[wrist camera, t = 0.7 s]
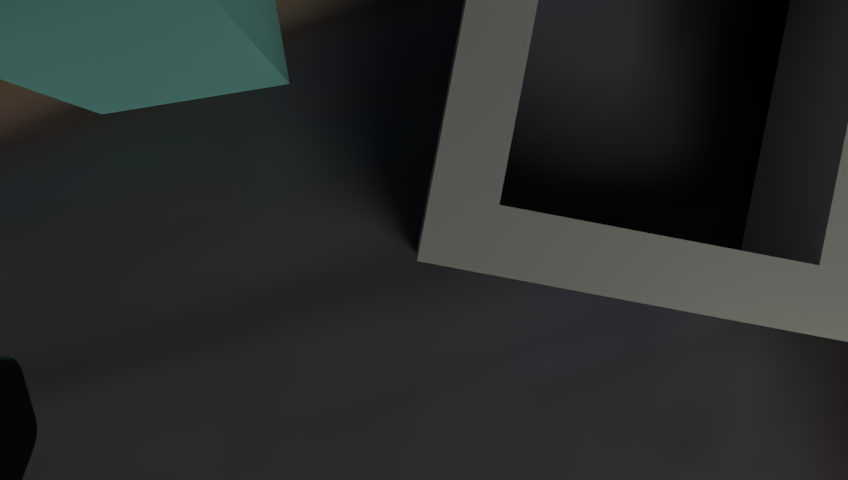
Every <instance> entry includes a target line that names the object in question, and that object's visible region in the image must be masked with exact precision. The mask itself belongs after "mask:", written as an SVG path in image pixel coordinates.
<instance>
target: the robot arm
mask: <svg viewBox="0 0 848 480" xmlns="http://www.w3.org/2000/svg"><path fill="white" fill-rule="evenodd" d="M36 437H37V422H36V417H35V414H34V410H33V407H32V403H31V400H30V396H29V393H28V389H27V386H26V382H25V379H24V375H23V372H22V369H21V367H20V365H19V364H18V362H17V361H16V360H15V359H13V358H11V357H7V356H0V480H22V479H23V476H24V473H25V470H26V468H27V465H28V462H29V460H30V457H31V454H32V452H33V449H34V446H35V442H36Z"/></svg>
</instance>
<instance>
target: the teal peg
mask: <svg viewBox="0 0 848 480" xmlns="http://www.w3.org/2000/svg"><path fill="white" fill-rule="evenodd" d="M0 80H3V81H6V82H9V83H12V84H15V85H18V86H21V87H24V88H27V89H30V90H32V91H35V92H38V93H41V94H44V95H47V96H50V97H53V98H56V99H59V100H61V101H64V102H67V103H70V104H73V105H76V106H79V107H82V108H85V109H88V110H90V111H93V112H96V113H99V114H107V113H113V112H119V111H126V110H132V109H138V108H144V107H150V106H156V105H163V104H169V103H175V102H181V101H187V100H193V99H200V98H206V97H212V96H218V95H224V94H231V93H237V92H243V91H249V90H255V89H261V88H268V87H274V86H280V85H286V84H290V83H289V77H288V71H287V65H286V59H285V53H284V48H283V42H282V36H281V30H280V24H279V18H278V12H277V6H276V0H0Z"/></svg>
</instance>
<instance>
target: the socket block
mask: <svg viewBox="0 0 848 480" xmlns="http://www.w3.org/2000/svg"><path fill="white" fill-rule="evenodd" d="M537 5H538V0H464V3H463V8H462V13H461V19H460V24H459V29H458V34H457V40H456V45H455V50H454V56H453V61H452V66H451V72H450V77H449V82H448V88H447V93H446V98H445V103H444V109H443V114H442V119H441V125H440V130H439V135H438V141H437V146H436V151H435V157H434V162H433V167H432V172H431V178H430V183H429V188H428V194H427V199H426V204H425V210H424V215H423V220H422V226H421V231H420V236H419V241H418V247H417V252H416V255H417V261H420V262H425V263H431V264H436V265H441V266H447V267H452V268H457V269H463V270H468V271H473V272H479V273H484V274H489V275H494V276H500V277H505V278H510V279H516V280H521V281H526V282H532V283H537V284H542V285H548V286H553V287H558V288H564V289H569V290H574V291H580V292H585V293H590V294H596V295H601V296H606V297H612V298H617V299H622V300H628V301H633V302H638V303H644V304H649V305H654V306H660V307H665V308H670V309H676V310H681V311H686V312H692V313H697V314H702V315H708V316H713V317H718V318H724V319H729V320H734V321H740V322H745V323H750V324H756V325H761V326H766V327H772V328H777V329H782V330H788V331H793V332H798V333H804V334H809V335H814V336H820V337H825V338H830V339H836V340H841V341H846V342H848V0H790V4H789V9H788V14H787V19H786V24H785V29H784V34H783V39H782V44H781V49H780V54H779V59H778V65H777V70H776V75H775V80H774V85H773V90H772V95H771V100H770V105H769V110H768V115H767V120H766V125H765V130H764V135H763V140H762V146H761V151H760V156H759V161H758V166H757V171H756V176H755V181H754V186H753V191H752V196H751V201H750V206H749V211H748V216H747V221H746V227H745V232H744V237H743V242H742V247H741V250H736V249H730V248H725V247H720V246H714V245H709V244H704V243H699V242H693V241H688V240H683V239H678V238H672V237H667V236H662V235H656V234H651V233H646V232H641V231H635V230H630V229H625V228H619V227H614V226H609V225H604V224H598V223H593V222H588V221H582V220H577V219H572V218H567V217H561V216H556V215H551V214H546V213H540V212H535V211H530V210H524V209H519V208H514V207H509V206H503V205H499V204H500V199H501V194H502V188H503V183H504V178H505V173H506V167H507V162H508V157H509V152H510V146H511V141H512V136H513V131H514V125H515V120H516V115H517V110H518V104H519V99H520V94H521V89H522V83H523V78H524V73H525V68H526V62H527V57H528V52H529V47H530V41H531V36H532V31H533V26H534V20H535V15H536V10H537Z"/></svg>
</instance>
